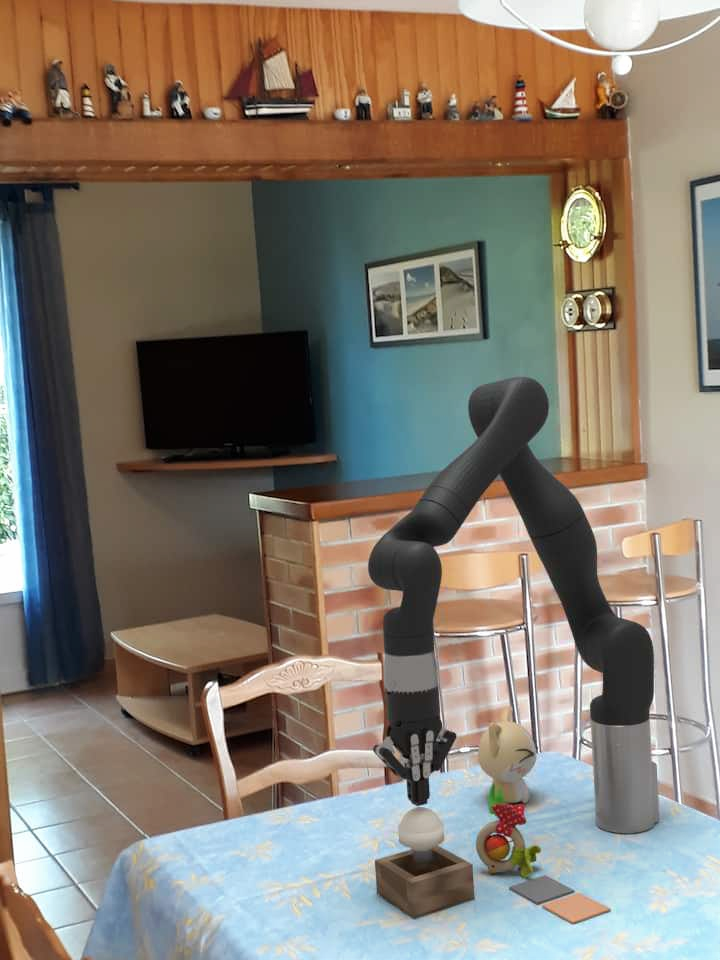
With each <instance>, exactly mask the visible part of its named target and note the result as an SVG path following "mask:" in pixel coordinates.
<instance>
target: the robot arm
mask: <svg viewBox="0 0 720 960" xmlns="http://www.w3.org/2000/svg"><path fill="white" fill-rule="evenodd" d="M467 404H468V405H467V409H468V411H467V412H468V417H469V421H470V424H471V426H472V429H473V432H474V434H475V435H476V437H477V439H476V440H475V441H474V442H473V443H472V444H471V445H470V446H469V447H467V449H466V450H464V451H463V452H462V453H460V454H459V456H457V457H456V458H455V459H454V460H452V461H451V462H450V463H449V464H448V465H447V466H445V467H444V468H443V469H442V470H441V471H440V473H439V474H437V475H436V476H435V478H434V479H433V480H432V482H431V483H430V484H429V486H428V487H427V488H426V490H425V491H424V493H422V495H421V497H420V498H419V499H418V501H417V503H416V504H415V506H414V507H413V509H412V510H411V511H410V512H408V513H407V514H406V515H405V516H404V517H402V518H401V519H400V520H398V522H396V524H394V525H393V526H392V527H391V528H390V529H389V530H387V532H385V533H384V534H383V535H382V536H381V538H379V539H378V541H377V542H376V543H375V545H374V546H373V547H372V551H371V552H370V554H369V558H368V561H367V563H368V564H367V570H368V576H369V577H370V580H371V581H372V583H373V584H375V586H377V587H379V588H381V589H383V590H389V591H396V592H397V591H399V592H402V597H401V603H400V606H399V607H394V608H391V609H389V610H387V611H386V612H385V613H384V616H383V620H382V632H383V634H382V635H383V648H384V658H383V659H384V660H383V661H384V662H383V677H384V678H383V679H384V691H385V693H384V694H385V695H384V696H385V708H386V709H385V710H386V711H385V712H386V716H387V722H388V723H387V728H386V731H385V736H386V737H385V738H384V740H383V741H382V742H381V743H380V744H375V745H374V746H373V748H372V751H373V753H374V754H375V755H376V756H377V758H379V759H380V761H382V763H383V764H384V765H385V766H386V767H387V769H388V770H389V771H390V772H391V773H392V774H393V775H395V776H397V777H400V778H401V779H403V780H406V790H407V791H406V793H407V799H408V801H410V802H411V804H412V805H414V806H416V807H419V806H420V807H422V806H424V805H427V804H428V800H429V799H430V796H431V793H430V789H431V788H430V776H431V774H433V773H434V772H435V771H436V772H438V771H440V770H441V768H442V766H443V765H444V762H445V760H446V758H447V757H448V754H449V753H450V751H451V750H452V747H453V745H454V743H455V741H456V739H457V733H456V732H454V731H451V730H449V729H447V728H446V727H443V722H442V720H441V718H440V713H441V703H440V702H441V699H440V687H439V685H440V683H439V682H440V681H439V669H438V662H437V656H436V649H435V635H434V634H435V631H434V630H435V629H434V618H435V613H436V611H437V610H436V609H437V604H438V597H439V594H440V589H441V585H442V578H443V577H442V576H443V567H442V566H443V565H442V562H441V561H442V560H441V558H440V555H439V554H438V552H437V550H436V548H435V547H440V546H445V545H447V544H449V543H450V542H451V541H452V539H453V538H455V536H456V534H457V533H458V532H459V530H460V529H461V527H462V526H463V524H464V522H465V521H466V519H467V518H468V517H469V515H470V514H471V512H472V510H473V509H474V507H475V506H476V504H478V502H479V499H481V497H482V496H483V494H484V493H485V492H486V491H487V489H488V488H489V487H490V486H491V484H492V483H493V482H494V481H495V480H496V479H497V477H499V476H500V478H501V480H502V481H503V483H504V486H505V488H506V489H507V491H508V494H509V495H510V497H511V499H512V502H513V504H514V505H515V507H516V509H517V512H518V513H519V515H520V518H521V519H522V521H523V525H524V526H525V529H526V531H527V534H528V537H529V538H530V541H531V542H532V545H533V548H534V550H535V551H536V553H537V556H538V558H539V560H540V561H541V564H542V565H543V567H544V570H545V571H546V573H547V576H548V578H549V580H550V582H551V584H552V587H553V590H554V591H555V593H556V594H557V596H558V599H559V601H560V604H561V605H562V608H563V611H564V613H565V617H566V619H567V622H568V626H569V629H570V631H571V634H572V638H573V640H574V643H575V646H576V649H577V651H578V653H579V656H580V658H581V659H582V661H583V662H584V663H585V664H586V665H587V666H588V667H590V668H591V670H594V671H596V672H599V673H601V674H602V692H601V695H600V694H599V695H598V696H595V697H594V698H593V699H592V700H591V701H590V703H589V710H590V711H589V717H590V734H591V735H590V736H591V751H592V772H593V789H594V790H593V791H594V792H593V793H594V810H595V811H594V813H595V824H596V825H597V827H599V828H600V829H602V830H603V831H607V832H611V833H617V834H618V833H619V834H635V833H636V832H637V833H640V832H641V833H643V832H645V831H648V830H650V829H652V828H653V827H654V826H655V824H656V823H659V822H660V803H659V801H660V800H659V782H658V764H657V763H656V762H654V761H653V758H652V757H653V755H652V737H651V721H650V720H651V716H650V711H651V705H652V703H653V700H654V696H655V695H654V693H655V654H654V652H655V651H654V645H653V641H652V637H651V635H650V633H649V631H648V630H647V628H646V627H645V626H643V624H641V623H638V622H635V621H632V620H629V619H627V618H626V619H625V618H623V617H619V616H617V615H616V613H615V612H614V610H613V609H612V607H611V606H610V604H609V602H608V600H607V598H606V595H605V594H604V592H603V589H602V587H601V585H600V581H599V577H598V576H599V575H598V547H597V540H596V537H595V533H594V531H593V529H592V527H591V524H590V521H589V519H588V518H587V515H586V513H585V511H584V508H583V506H582V504H581V503H580V501H579V500H578V498H577V497H576V496H575V495H574V494H573V493H572V491H571V490H569V488H568V487H567V486H566V485H564V484H563V483H562V482H561V481H560V480H559V478H557V477H556V476H554V475H553V474H552V473H551V472H550V471H549V470H548V469H546V467H545V466H543V464H542V463H541V462H540V461H539V460H538V459H537V457H536V456H535V454H534V453H533V451H532V449H531V448H530V446H529V444H528V443H530V442H531V440H532V439H534V437H536V435H537V434H538V433H539V432H540V431H541V430H542V428H543V426H545V423H546V422H547V419H548V416H549V412H550V411H549V409H550V403H549V398H548V394H547V392H546V390H545V388H544V387H543V385H542V384H541V383H540V382H539V381H537V380H536V379H534V378H532V377H529V376H528V377H527V376H516V377H509V378H506V379H501V380H495V381H493V382H488V383H486V384H481V385H479V386H477V387H476V388H475V389H473V391H472V393H471V394H470V395H469V399H468V402H467ZM395 749H396V750H397V752H398V753H399V759H400V760H398V759H397V758H396V756H395V754H396V752H395ZM400 761H401V762H400Z"/></svg>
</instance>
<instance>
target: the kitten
mask: <svg viewBox="0 0 720 960" xmlns="http://www.w3.org/2000/svg"><path fill="white" fill-rule="evenodd" d="M538 749H539V747H538V745H537V742H536V741H535V739H534V738H533V737H532V735H531V733H530V731H528V730H527V728H525V726H524V725H521V724H519V723H517V722H513V721H511V718H510V710H509V708H508V707H506V706H505V707H504V708H503V709H502V711H501V714H500V717H499V722H497V723H495V722H490V723H489V725H488V728H486V730H485V731H484V733H483V734H482V736H481V738H480V741H479V745H478V750H477V758H478V764H479V766H480V768H481V770H482V771H483V773H485V774H486V775H487V776H488V777H490V778H492V779H491V780H492V781H491V782H492V783H491V785H490V789H489V793H488V809H489V811H488V812H489V813H491V814H494V816H495V817H497V816H496V814H495V813H494V811H493V809H492V805H493V804H495V803H497V804H507V803H508V804H514V803H515V804H517V803H519V802H521V803H522V804H527V803H528V801H529V800H530V798H531V793H530V789H529V787H528V784H527V783H526V781H525V779H524V777H526V776H527V775H528V774H529V773H530V772H531V771H532V769H533V768H534V767H535V765H536V762H537V750H538Z"/></svg>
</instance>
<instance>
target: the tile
mask: <svg viewBox="0 0 720 960" xmlns="http://www.w3.org/2000/svg"><path fill="white" fill-rule="evenodd" d="M541 908H543V909H545V910H546V911H548V912H550V913H552V914H553V915H555V916H557V917H559V918H561V919H563V920H564V921H566V922H568V923H570V924H571V925H576V924H578V923H581V922H584V921H587V920H588V919H591V918H595V917H598V916H600V915H602V914H606V913H609V912H611V911H612V909H611V908H610V907H608V906H606V905H605V904H602V903H601V902H598V901H597V900H594V899H593V898H591V897H589V896H587V895H584V894H583V893H581V892H576V893H574V894H573V893H572V894H569V895H566V896H563V897H560V899H558V898H557V899H554V900H552V901H550V902H547V903H544V904H542V905H541Z"/></svg>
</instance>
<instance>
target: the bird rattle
mask: <svg viewBox="0 0 720 960" xmlns="http://www.w3.org/2000/svg"><path fill="white" fill-rule="evenodd" d="M525 808H526V806H525V803H520V804H513V805H512V804H511V803H506V804H497V803H495V804H493V805H492V809H493V811H494V813H493V814H494V815H495V814H496V816H495V817H497V819H498V820H493V821H490V822H488V823H487V824H485V825H484V826H483V827H482V828H481V829H480V830H479V832H478V833H477V836H476V839H475V840H476V841H475V850H476V853H477V856H478V857H479V860H480V861H481V862H482V863H483V865H484V866H486V867H487V869H488V872H489V874H490V875H494V874H496V873H497V872H508V871H511V870H513V869H514V868H517V869H518V870H520V875H521V877H522V878H524V879H527V878H528V877H529V875H531V874H533V872H534V867H533V866H532V864H531V863H535V862H537V854H540V853H541V852H542V848H541V847H540V846H538V845H537V844H533V845H531V846H529V847H526V843H525V838H524V836H523V834H522V832H521V831H520V830H519V829H518V828H517V827H516V826H519V825H520V826H522V825H526V824H527V819H526V817H525ZM508 838H510V839H511V840H509V839H508ZM510 843H513V846H512V851H511V845H510ZM510 853H511V854H510ZM509 854H510V856H509ZM508 856H509V858H508V859H507V857H508Z"/></svg>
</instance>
